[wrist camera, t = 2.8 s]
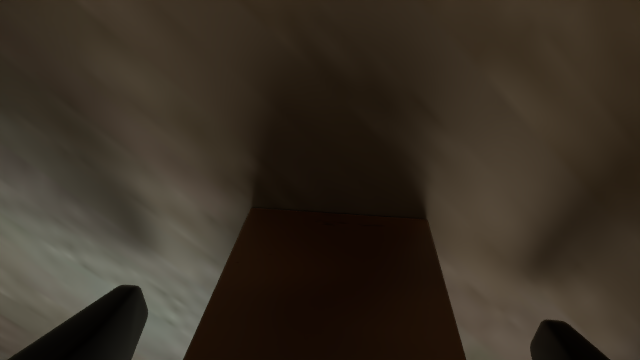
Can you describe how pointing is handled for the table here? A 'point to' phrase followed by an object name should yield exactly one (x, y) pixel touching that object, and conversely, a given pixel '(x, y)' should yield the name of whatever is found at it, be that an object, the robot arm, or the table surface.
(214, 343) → the block
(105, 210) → the table surface
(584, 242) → the table surface
